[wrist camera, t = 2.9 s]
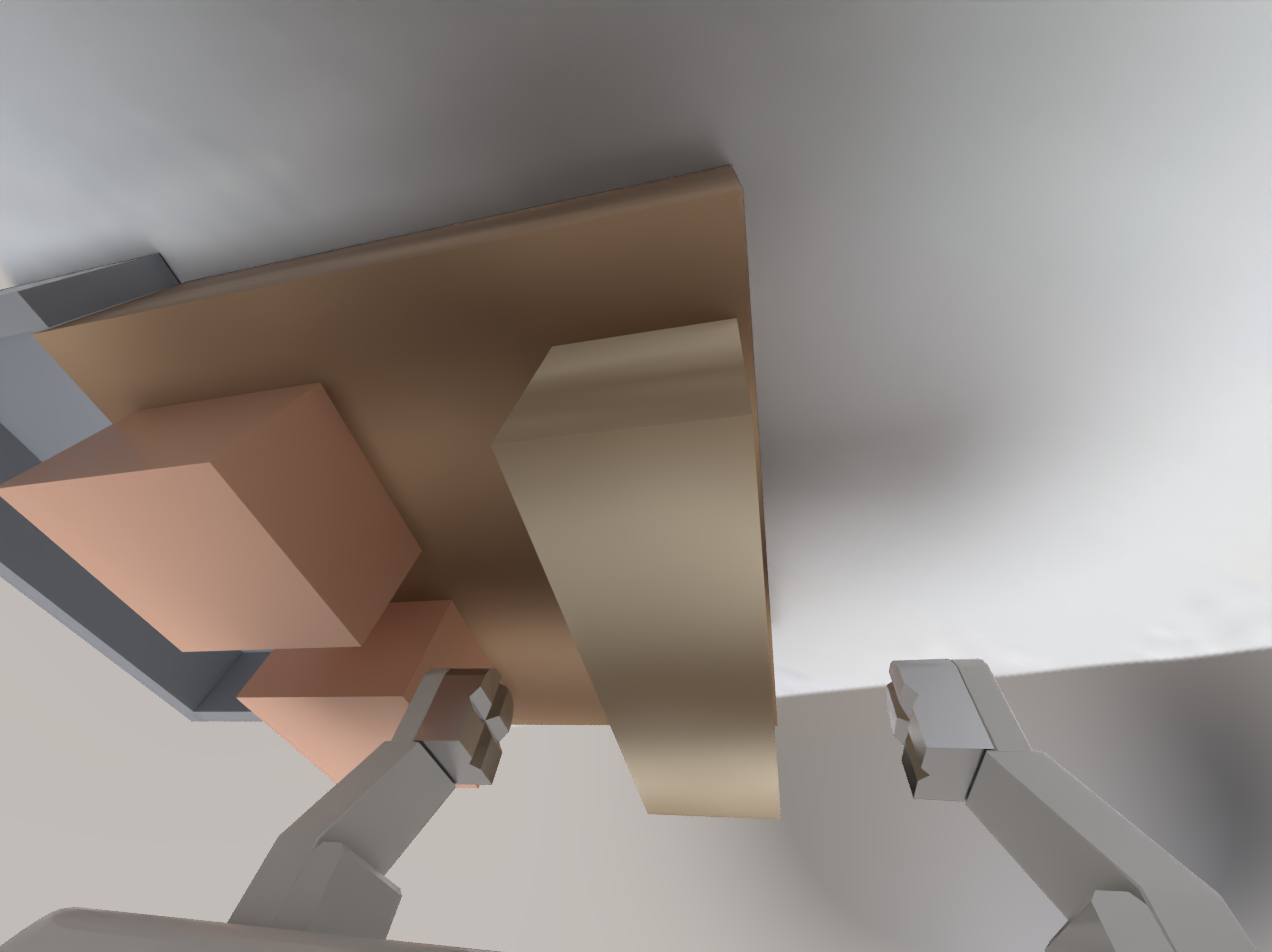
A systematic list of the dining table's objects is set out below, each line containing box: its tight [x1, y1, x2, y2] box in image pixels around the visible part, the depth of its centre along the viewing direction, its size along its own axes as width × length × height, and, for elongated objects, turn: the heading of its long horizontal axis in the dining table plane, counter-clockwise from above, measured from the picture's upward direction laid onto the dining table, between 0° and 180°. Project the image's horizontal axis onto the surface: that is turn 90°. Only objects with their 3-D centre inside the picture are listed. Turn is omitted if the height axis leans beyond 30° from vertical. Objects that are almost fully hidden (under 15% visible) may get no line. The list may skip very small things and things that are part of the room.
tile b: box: [236, 600, 503, 788], centre depth 15 cm, size 5×5×3 cm
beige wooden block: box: [491, 318, 781, 819], centre depth 11 cm, size 12×4×4 cm, turn 11°
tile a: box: [0, 382, 422, 652], centre depth 11 cm, size 5×5×3 cm
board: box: [31, 165, 777, 726], centre depth 15 cm, size 16×15×4 cm
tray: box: [0, 253, 274, 721], centre depth 18 cm, size 18×11×4 cm, turn 11°
